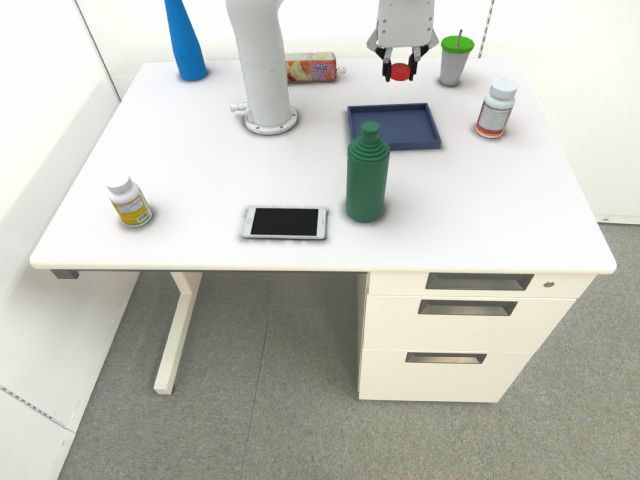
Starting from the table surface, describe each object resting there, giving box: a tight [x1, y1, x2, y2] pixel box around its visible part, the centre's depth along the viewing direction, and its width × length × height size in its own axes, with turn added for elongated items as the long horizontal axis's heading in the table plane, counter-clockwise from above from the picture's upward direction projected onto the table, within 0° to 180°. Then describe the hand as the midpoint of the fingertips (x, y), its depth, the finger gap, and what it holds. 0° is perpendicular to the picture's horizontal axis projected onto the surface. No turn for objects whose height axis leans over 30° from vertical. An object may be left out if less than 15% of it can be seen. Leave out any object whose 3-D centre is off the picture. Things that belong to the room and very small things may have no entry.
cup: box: [439, 29, 476, 88], centre depth 100 cm, size 8×8×15 cm
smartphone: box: [241, 206, 327, 240], centre depth 74 cm, size 8×1×15 cm
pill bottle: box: [475, 78, 519, 139], centre depth 87 cm, size 6×6×11 cm
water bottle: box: [345, 121, 391, 224], centre depth 69 cm, size 7×7×18 cm
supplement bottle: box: [105, 171, 153, 228], centre depth 73 cm, size 5×5×10 cm
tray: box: [346, 102, 442, 152], centre depth 92 cm, size 19×15×2 cm
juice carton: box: [284, 51, 337, 83], centre depth 106 cm, size 21×7×7 cm, turn 91°
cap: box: [390, 62, 411, 82], centre depth 81 cm, size 4×4×2 cm
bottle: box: [163, 0, 208, 82], centre depth 101 cm, size 7×7×30 cm
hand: (398, 77), depth 83 cm, fingers closed on cap, 4 cm apart
